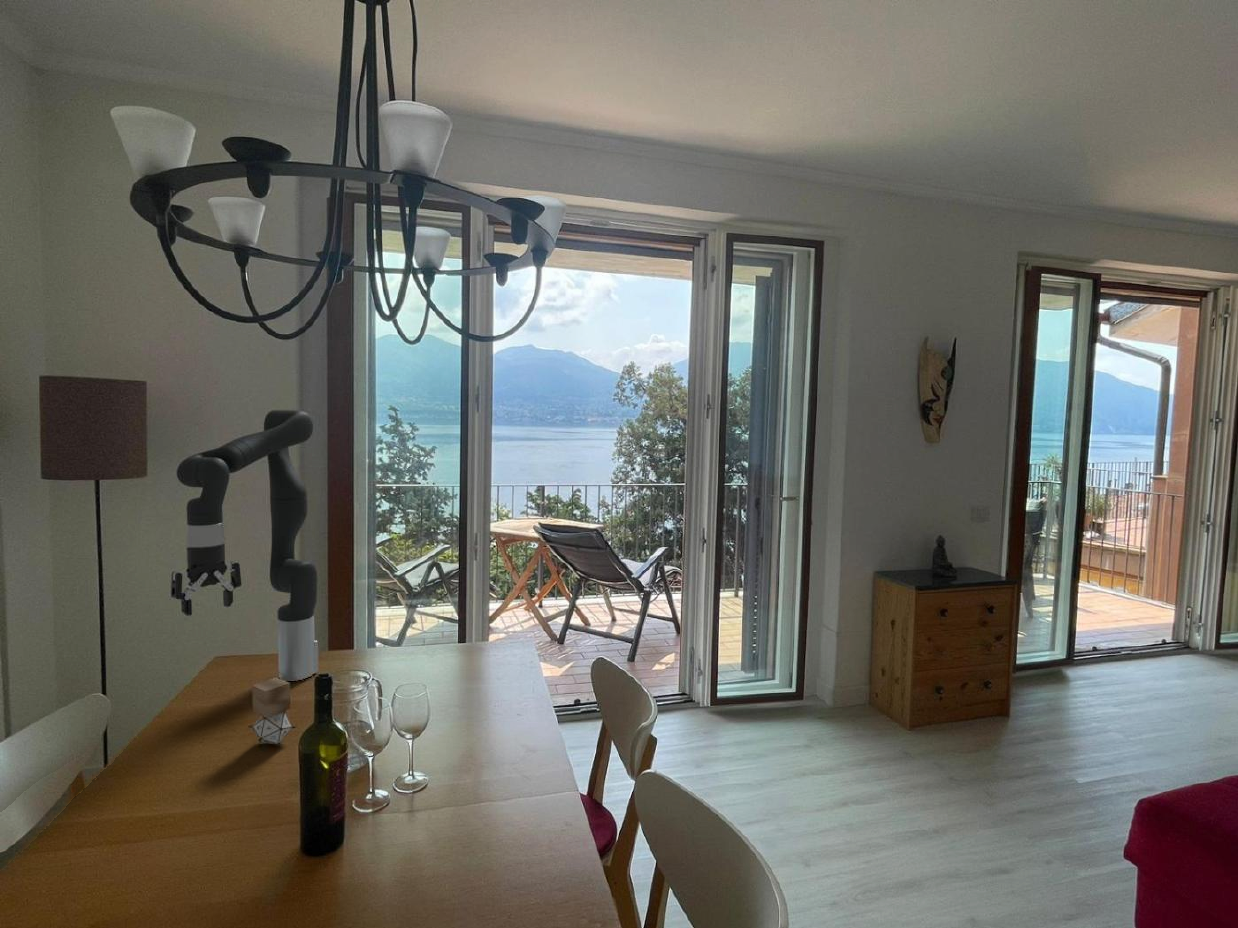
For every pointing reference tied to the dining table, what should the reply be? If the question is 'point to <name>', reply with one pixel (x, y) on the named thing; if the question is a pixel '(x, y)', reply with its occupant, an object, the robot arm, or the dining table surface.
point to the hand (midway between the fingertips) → (208, 610)
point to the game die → (272, 728)
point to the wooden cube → (271, 697)
